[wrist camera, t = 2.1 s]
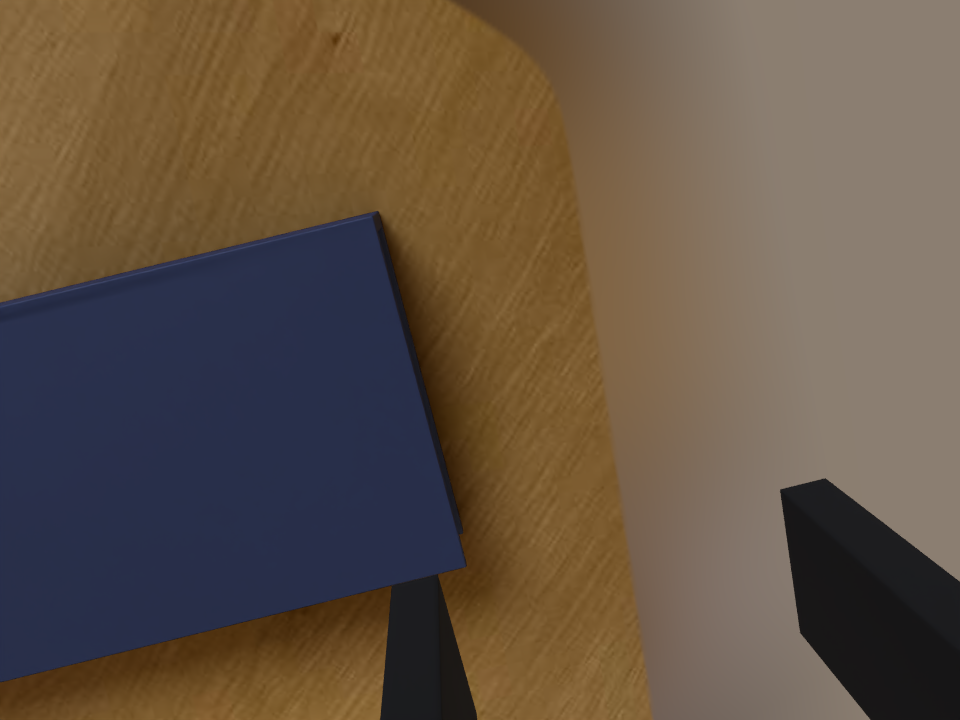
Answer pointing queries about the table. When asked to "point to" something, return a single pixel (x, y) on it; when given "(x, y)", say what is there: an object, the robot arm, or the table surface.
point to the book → (213, 447)
